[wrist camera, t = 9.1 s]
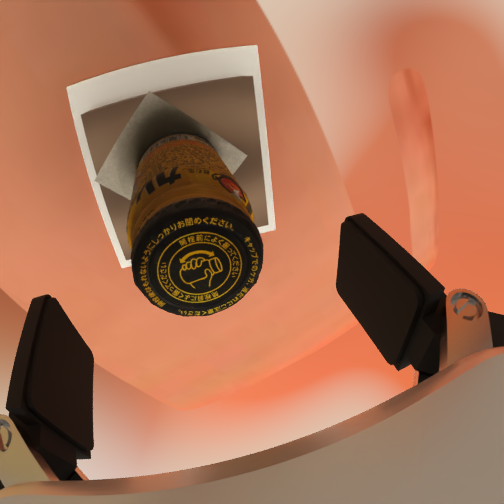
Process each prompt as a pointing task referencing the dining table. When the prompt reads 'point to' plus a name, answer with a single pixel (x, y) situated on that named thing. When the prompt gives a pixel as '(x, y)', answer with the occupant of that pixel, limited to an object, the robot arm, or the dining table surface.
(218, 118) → the plinth
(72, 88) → the base board
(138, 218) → the condiment
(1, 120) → the dining table surface
